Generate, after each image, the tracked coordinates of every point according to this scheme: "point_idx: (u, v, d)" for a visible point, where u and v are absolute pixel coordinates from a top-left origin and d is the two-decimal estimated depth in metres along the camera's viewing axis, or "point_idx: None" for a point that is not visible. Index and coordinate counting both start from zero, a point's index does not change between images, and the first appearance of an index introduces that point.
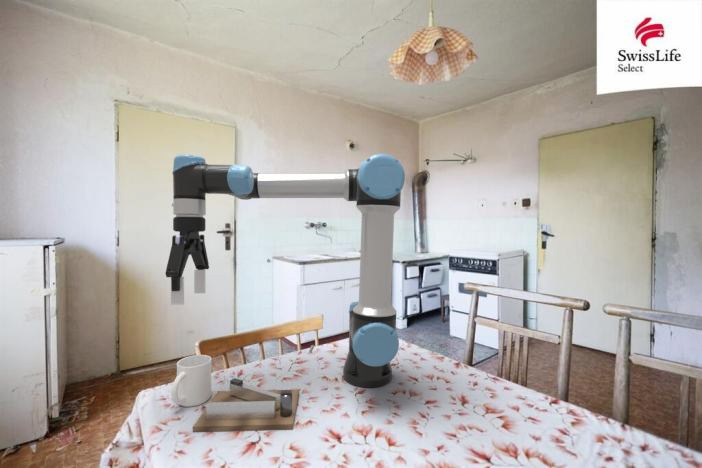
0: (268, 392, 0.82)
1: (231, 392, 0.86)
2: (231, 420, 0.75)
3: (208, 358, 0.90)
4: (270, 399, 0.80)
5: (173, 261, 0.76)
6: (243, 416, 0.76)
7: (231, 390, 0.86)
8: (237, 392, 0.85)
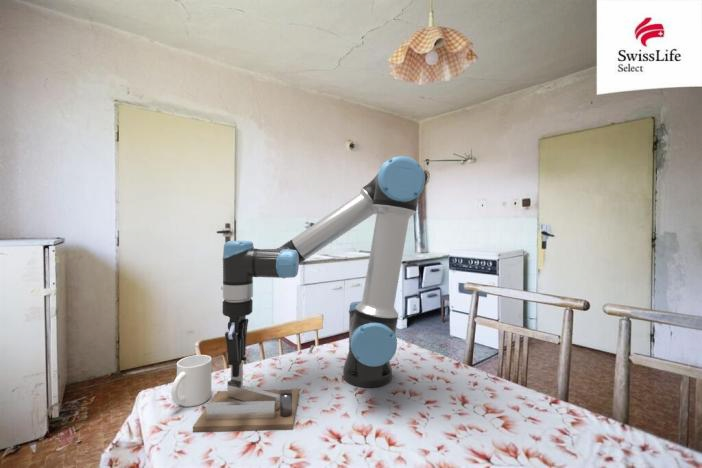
0: (267, 392, 0.82)
1: (228, 394, 0.85)
2: (231, 420, 0.75)
3: (208, 358, 0.90)
4: (270, 399, 0.80)
5: (232, 355, 0.83)
6: (243, 416, 0.76)
7: (229, 391, 0.85)
8: (235, 393, 0.85)
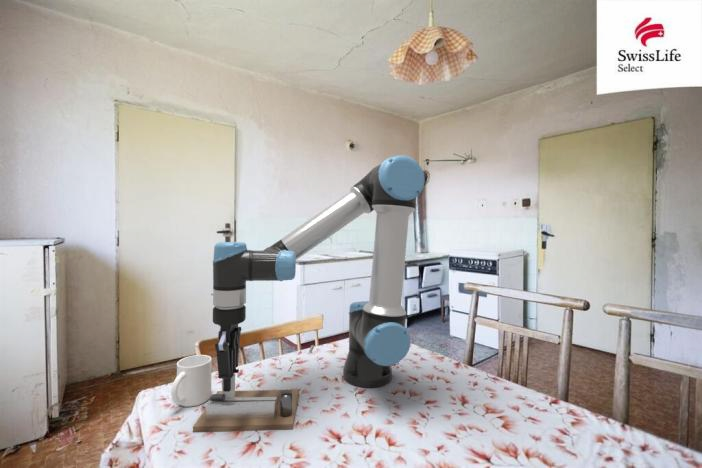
0: (262, 398, 0.79)
1: None
2: (231, 420, 0.75)
3: (208, 358, 0.90)
4: None
5: (223, 367, 0.76)
6: (243, 416, 0.76)
7: None
8: None
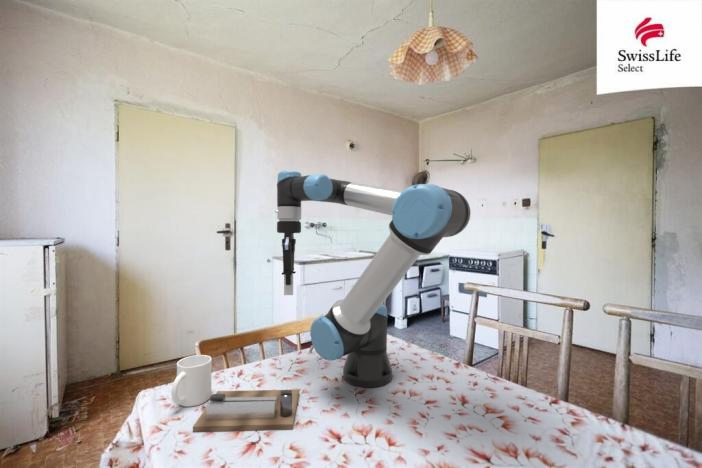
0: (262, 398, 0.79)
1: None
2: (231, 420, 0.75)
3: (208, 358, 0.90)
4: None
5: (287, 264, 1.00)
6: (243, 416, 0.76)
7: None
8: None
